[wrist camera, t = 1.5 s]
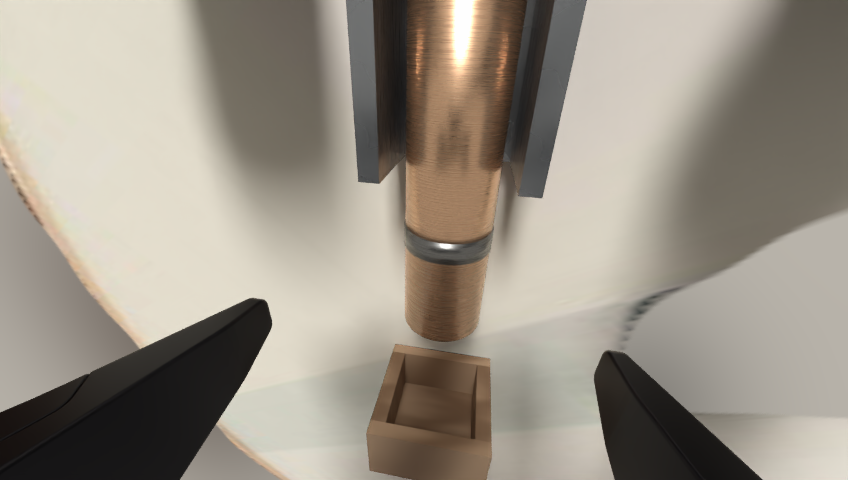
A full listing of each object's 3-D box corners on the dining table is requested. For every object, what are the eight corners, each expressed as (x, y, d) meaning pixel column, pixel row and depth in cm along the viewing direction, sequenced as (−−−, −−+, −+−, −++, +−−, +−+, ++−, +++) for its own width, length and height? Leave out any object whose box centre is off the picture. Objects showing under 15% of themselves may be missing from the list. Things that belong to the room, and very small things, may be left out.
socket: (490, 358, 23) (491, 457, 17) (483, 394, 25) (482, 494, 19) (395, 344, 24) (366, 433, 18) (395, 379, 26) (369, 470, 20)
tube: (421, -187, 10) (388, -318, 7) (553, -195, 10) (591, -344, 6) (412, 286, 20) (396, 335, 16) (480, 295, 19) (478, 348, 15)
